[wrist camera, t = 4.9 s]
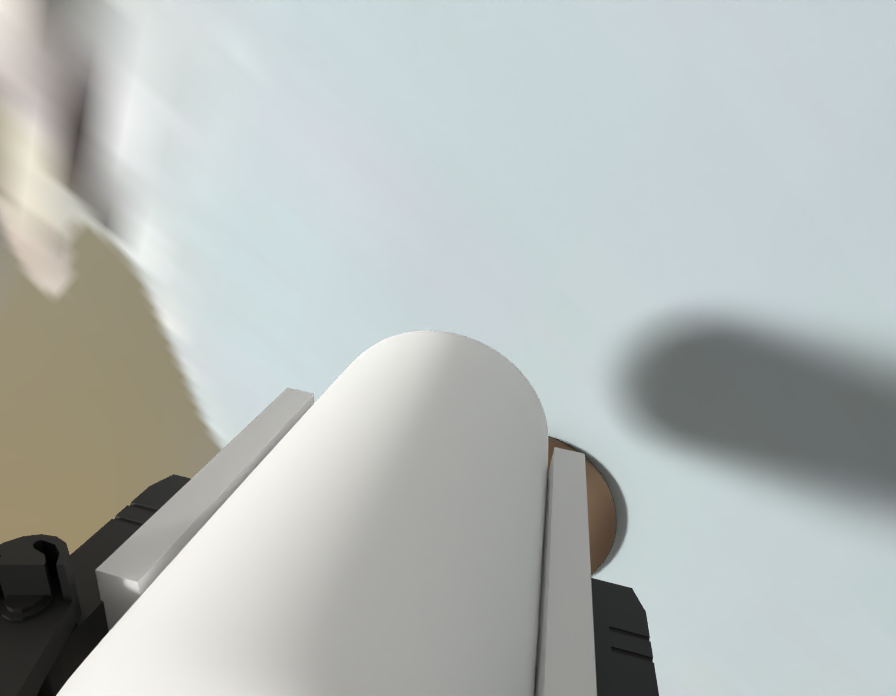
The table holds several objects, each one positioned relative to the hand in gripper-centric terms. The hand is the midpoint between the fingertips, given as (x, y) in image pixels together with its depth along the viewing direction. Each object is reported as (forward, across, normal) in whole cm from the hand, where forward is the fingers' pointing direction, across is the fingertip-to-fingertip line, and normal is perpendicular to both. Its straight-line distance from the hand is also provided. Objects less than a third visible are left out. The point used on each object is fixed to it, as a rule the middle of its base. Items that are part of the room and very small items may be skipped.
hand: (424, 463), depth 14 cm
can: (+2, 0, 0) cm, 2 cm away
